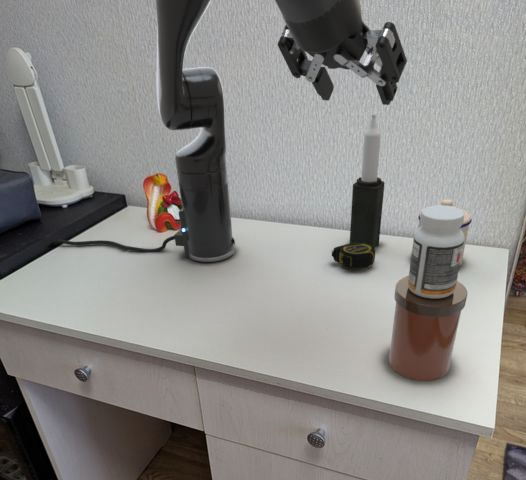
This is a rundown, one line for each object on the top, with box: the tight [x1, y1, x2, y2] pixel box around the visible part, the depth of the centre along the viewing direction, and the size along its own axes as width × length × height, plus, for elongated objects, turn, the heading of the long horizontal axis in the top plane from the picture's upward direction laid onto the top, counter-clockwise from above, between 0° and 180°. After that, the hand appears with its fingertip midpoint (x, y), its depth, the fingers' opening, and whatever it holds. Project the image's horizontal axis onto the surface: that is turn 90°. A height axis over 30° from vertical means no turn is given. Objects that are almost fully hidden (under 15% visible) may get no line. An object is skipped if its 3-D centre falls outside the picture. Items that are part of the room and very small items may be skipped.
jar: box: [388, 275, 468, 382], centre depth 65 cm, size 9×9×12 cm
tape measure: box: [331, 242, 376, 270], centre depth 93 cm, size 7×7×4 cm
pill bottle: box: [408, 204, 464, 299], centre depth 59 cm, size 6×6×10 cm
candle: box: [349, 112, 386, 249], centre depth 93 cm, size 5×5×25 cm
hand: (358, 96), depth 63 cm, fingers open, 8 cm apart
